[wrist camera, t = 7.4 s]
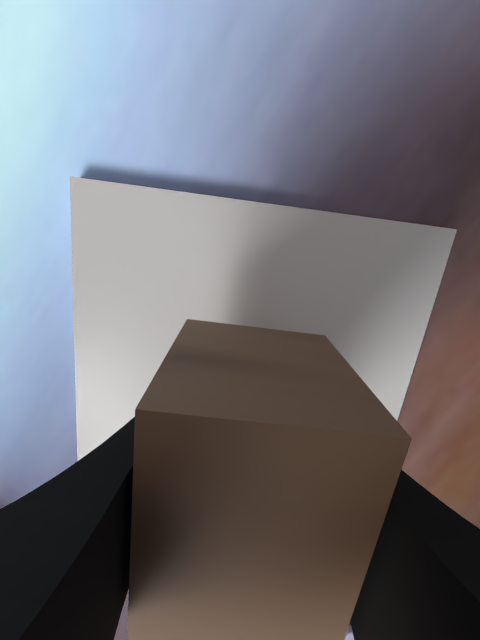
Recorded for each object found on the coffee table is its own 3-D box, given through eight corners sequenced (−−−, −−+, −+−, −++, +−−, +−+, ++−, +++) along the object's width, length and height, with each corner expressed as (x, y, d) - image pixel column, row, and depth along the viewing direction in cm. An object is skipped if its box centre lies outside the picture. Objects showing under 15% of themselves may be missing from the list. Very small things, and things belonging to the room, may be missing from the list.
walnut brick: (292, 485, 11) (332, 673, 7) (174, 474, 11) (126, 659, 6) (325, 335, 10) (411, 438, 5) (187, 319, 9) (134, 409, 5)
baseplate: (360, 511, 16) (365, 522, 15) (84, 485, 15) (78, 495, 14) (446, 229, 12) (457, 229, 11) (78, 179, 11) (70, 176, 11)
